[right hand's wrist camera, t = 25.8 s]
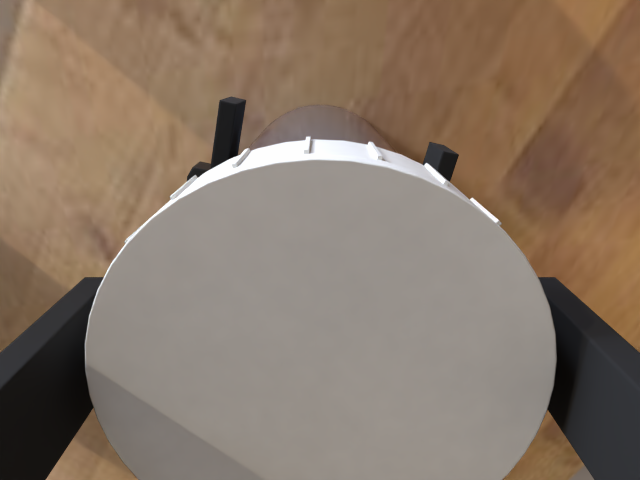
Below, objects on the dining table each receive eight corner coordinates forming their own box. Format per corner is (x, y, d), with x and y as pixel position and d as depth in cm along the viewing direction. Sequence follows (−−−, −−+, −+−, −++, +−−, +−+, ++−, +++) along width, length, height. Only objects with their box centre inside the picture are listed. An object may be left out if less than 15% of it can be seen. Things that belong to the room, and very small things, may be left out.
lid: (354, 524, 15) (361, 604, 13) (59, 367, 13) (3, 431, 11) (598, 295, 12) (663, 348, 10) (266, 37, 10) (249, 29, 8)
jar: (285, 270, 31) (240, 538, 14) (219, 144, 28) (48, 275, 10) (415, 216, 30) (555, 436, 12) (360, 77, 27) (439, 98, 9)
